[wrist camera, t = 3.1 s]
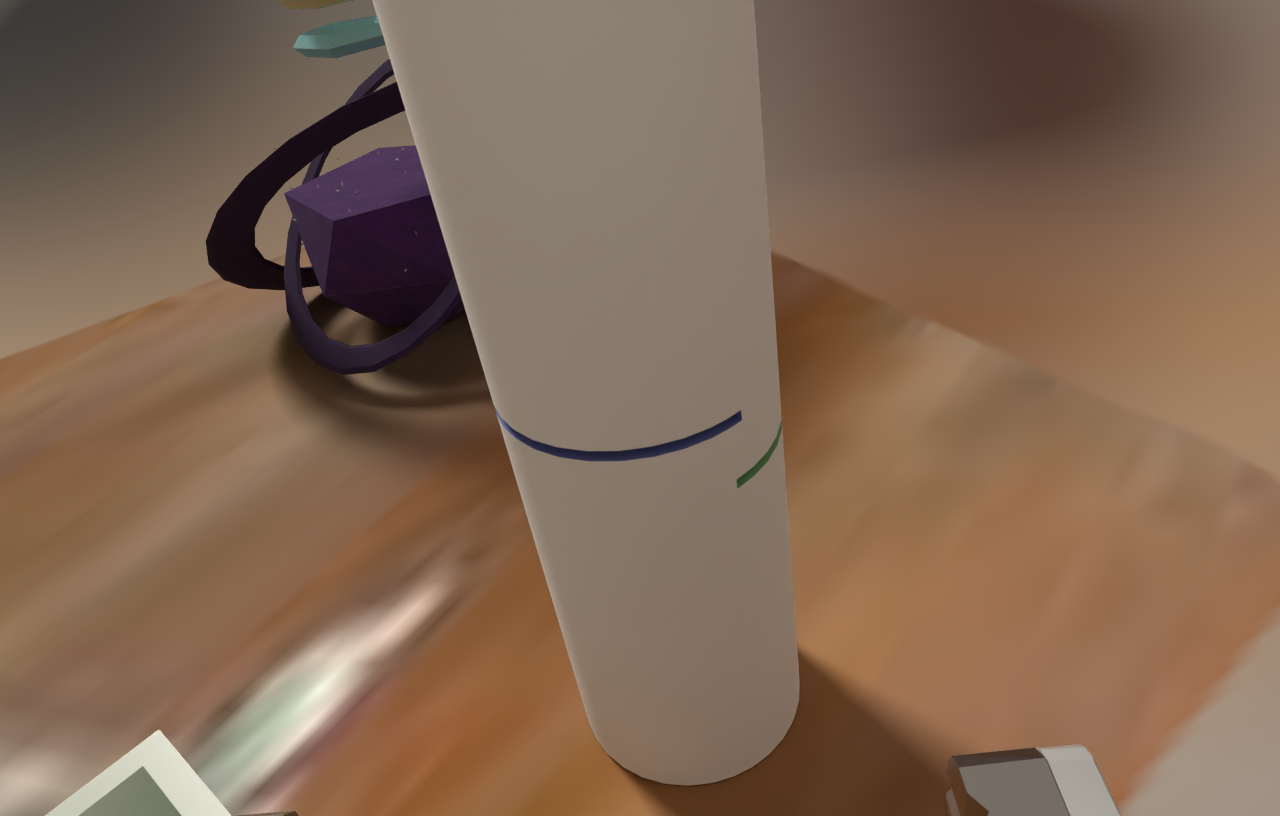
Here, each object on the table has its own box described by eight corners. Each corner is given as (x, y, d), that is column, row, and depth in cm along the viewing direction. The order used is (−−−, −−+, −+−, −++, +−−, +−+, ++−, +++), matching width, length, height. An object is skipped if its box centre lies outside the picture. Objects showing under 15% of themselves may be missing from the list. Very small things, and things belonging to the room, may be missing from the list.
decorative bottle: (512, 208, 68) (420, -169, 54) (665, 289, 52) (591, -208, 38) (227, 315, 59) (26, -101, 45) (310, 450, 44) (45, -117, 30)
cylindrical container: (551, 665, 30) (276, -196, 16) (721, 574, 32) (611, -247, 18) (651, 831, 25) (367, -250, 11) (846, 707, 27) (826, -314, 13)
